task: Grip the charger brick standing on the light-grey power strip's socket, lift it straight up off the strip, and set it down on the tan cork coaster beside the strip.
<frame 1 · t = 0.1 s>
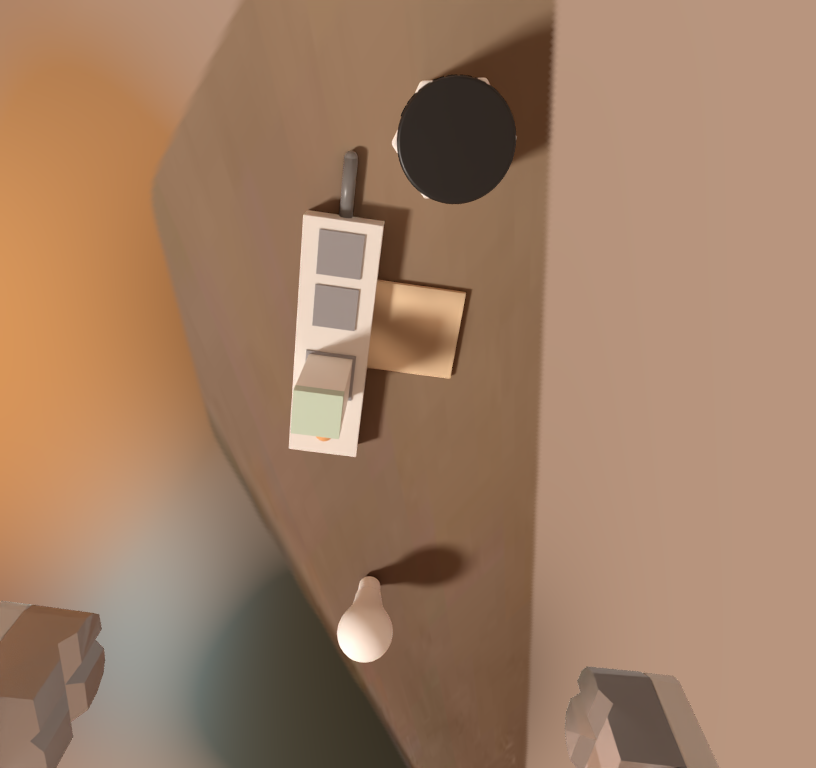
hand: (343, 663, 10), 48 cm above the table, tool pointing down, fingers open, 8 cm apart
coaster: (412, 329, 58), on the table
jar: (447, 134, 51), on the table
charger: (329, 376, 57), point 3 cm above the table, touching power strip
lightbulb: (370, 578, 72), on the table
power strip: (335, 337, 59), on the table
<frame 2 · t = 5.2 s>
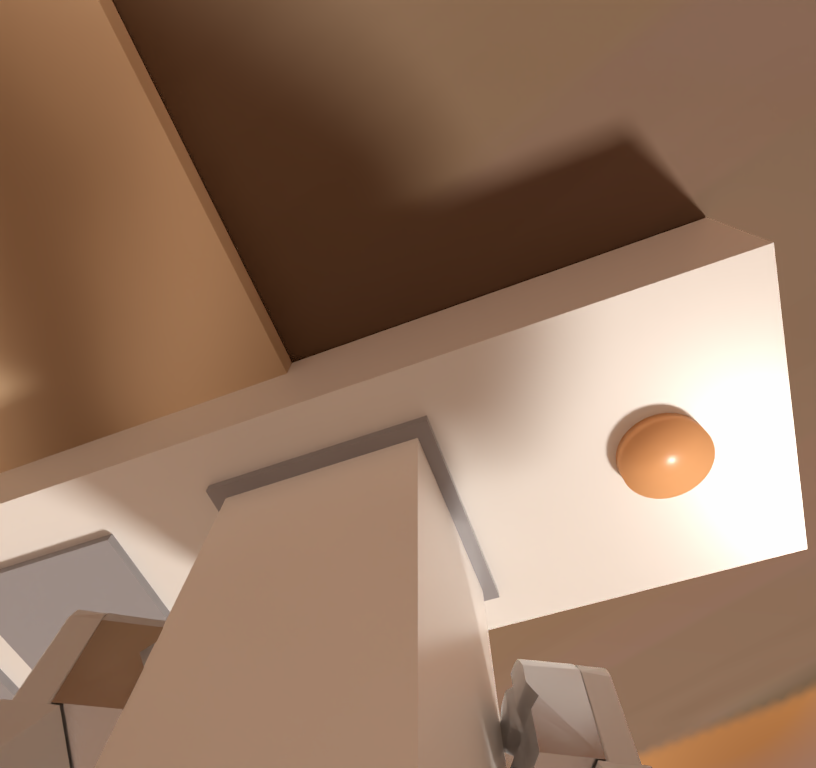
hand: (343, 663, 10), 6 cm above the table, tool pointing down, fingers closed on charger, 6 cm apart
coaster: (27, 270, 13), on the table
charger: (359, 546, 13), point 3 cm above the table, touching gripper, power strip
power strip: (263, 507, 15), on the table
when the fingers open (5 cm above the table, at t = 11.4 s): charger drops 2 cm, resting on coaster.
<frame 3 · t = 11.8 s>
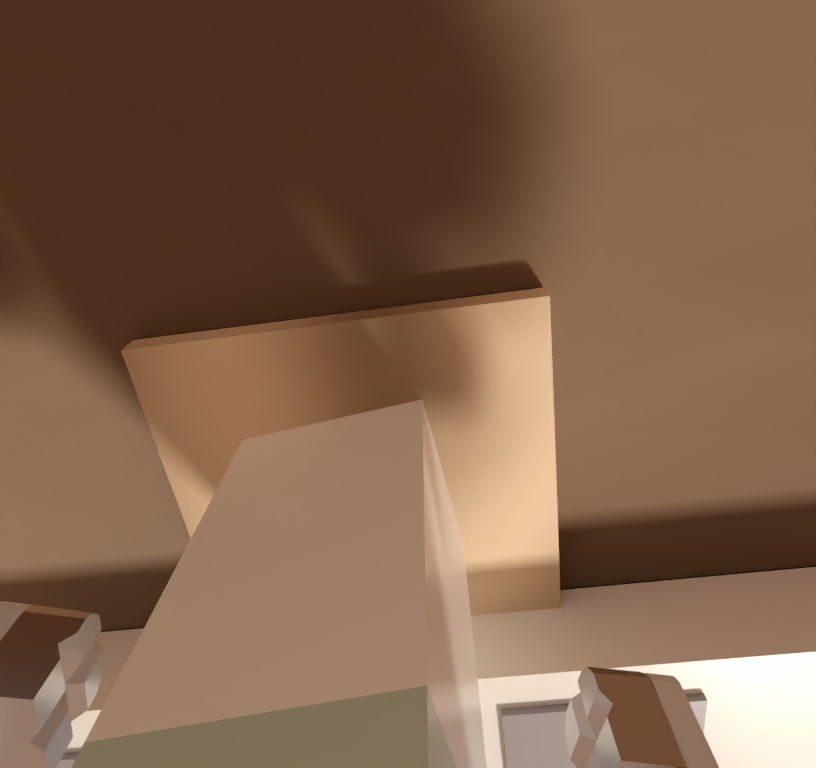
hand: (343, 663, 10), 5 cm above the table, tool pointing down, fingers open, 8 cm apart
coaster: (367, 486, 15), on the table
charger: (357, 495, 14), point 1 cm above the table, touching coaster
power strip: (475, 685, 18), on the table
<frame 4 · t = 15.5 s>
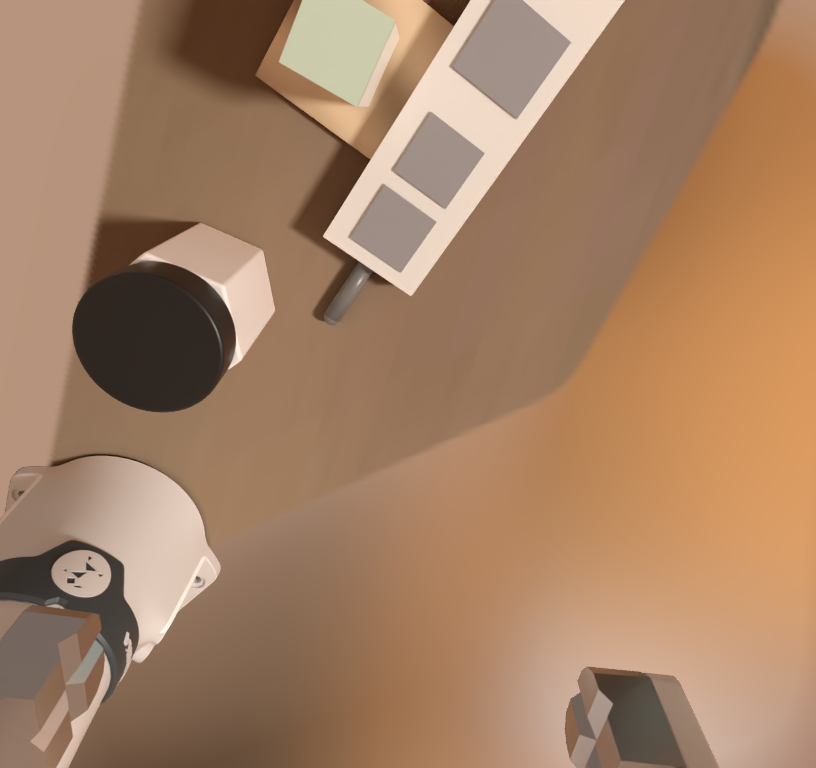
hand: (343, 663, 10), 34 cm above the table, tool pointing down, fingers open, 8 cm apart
coaster: (357, 55, 36), on the table
jar: (217, 284, 42), on the table
charger: (352, 54, 35), point 1 cm above the table, touching coaster
power strip: (474, 102, 37), on the table
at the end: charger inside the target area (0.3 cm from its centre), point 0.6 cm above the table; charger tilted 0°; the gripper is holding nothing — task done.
